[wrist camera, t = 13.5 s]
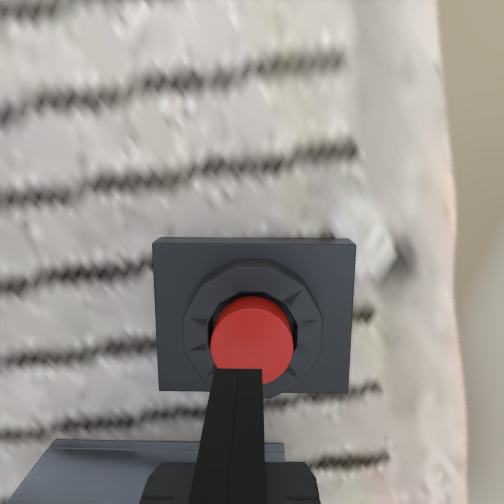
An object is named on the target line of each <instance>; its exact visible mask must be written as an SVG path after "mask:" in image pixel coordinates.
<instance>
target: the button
mask: <svg viewBox="0 0 504 504" xmlns="http://www.w3.org/2000/svg"><path fill="white" fill-rule="evenodd" d="M210 348H211V355H212V358H213V361H214V363H215V365H216V367H217V368H233V369H262V382H263V384H266V383H268V382H271V381H273V380H275V379H276V378H278V377H279V376H280V375H281V374H282V373H283V372H284V371H285V370H286V368H287V367H288V365H289V364H290V361H291V359H292V355H293V339H292V333H291V328H290V323H289V320H288V318H287V316H286V314H285V313H284V311H283V310H282V309H281V308H280V307H279V306H278V305H277V304H275V303H274V302H272V301H270V300H268V299H265V298H262V297H256V296H249V297H243V298H239V299H237V300H235V301H233V302H231V303H230V304H228V305H227V306H226V307H225V308H224V309H223V310H222V311H221V313H220V314H219V316H218V318H217V321H216V324H215V327H214V331H213V334H212V338H211V346H210Z"/></svg>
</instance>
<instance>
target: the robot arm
mask: <svg viewBox="0 0 504 504" xmlns="http://www.w3.org/2000/svg"><path fill="white" fill-rule="evenodd" d="M139 504H321V503H320V500H319V492H318V487H317V482H316V477H315V476H314V475H313V473H312V472H311V471H310V469H309V468H308V466H307V465H306V464H305V462H265V447H264V414H263V382H262V369H233V368H215V371H214V376H213V381H212V386H211V390H210V395H209V400H208V405H207V410H206V415H205V420H204V425H203V430H202V435H201V440H200V445H199V450H198V455H197V460H196V462H161V463H160V464H159V466H158V467H157V468H156V469H155V470H154V471H153V472H152V473H151V475H150V476H149V477H148V478H147V481H146V484H145V487H144V490H143V493H142V496H141V500H140V502H139Z"/></svg>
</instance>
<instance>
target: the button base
mask: <svg viewBox="0 0 504 504" xmlns="http://www.w3.org/2000/svg"><path fill="white" fill-rule="evenodd" d="M152 250H153V272H154V294H155V316H156V338H157V359H158V381H159V391H206V392H210V390H211V386H212V381H213V376H214V371H215V368H217V367H216V365H215V363H214V361H213V358H212V355H211V348H210V346H211V338H212V334H213V331H214V327H215V324H216V321H217V318H218V316H219V314H220V313H221V311H222V310H223V309H224V308H225V307H226V306H227V305H228V304H230V303H231V302H233V301H235V300H237V299H239V298H243V297H249V296H256V297H262V298H265V299H268V300H270V301H272V302H274V303H275V304H277V305H278V306H279V307H280V308H281V309H282V310H283V311H284V313H285V314H286V316H287V318H288V320H289V323H290V328H291V333H292V339H293V355H292V359H291V361H290V364H289V365H288V367H287V368H286V370H285V371H284V372H283V373H282V374H281V375H280V376H279V377H278V378H276V379H275V380H273V381H271V382H268V383H266V384H263V398H272V397H274V396H276V395H278V394H280V393H338V394H347V393H348V384H349V366H350V348H351V330H352V312H353V294H354V276H355V258H356V244H354V243H353V242H352V241H351V240H350V239H324V238H188V237H161V238H159V239H158V240H156V241H155V242H153V243H152Z"/></svg>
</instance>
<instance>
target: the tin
mask: <svg viewBox="0 0 504 504" xmlns="http://www.w3.org/2000/svg"><path fill="white" fill-rule="evenodd" d="M199 445H200V442H156V441H100V440H54V441H53V443H52V444H51V445H50V447H49V449H47V450H46V452H45V453H44V454H43V456H42V457H41V458H40V459H39V461H38V462H37V463H36V465H35V466H34V467H33V469H32V470H31V471H30V473H29V474H28V475H27V477H26V478H25V479H24V481H23V482H22V483H21V485H20V486H19V487H18V489H17V490H16V491H15V493H14V494H13V495H12V496H11V498H10V499H9V500H8V502H7V503H6V504H139V502H140V500H141V496H142V493H143V490H144V487H145V484H146V481H147V478H148V477H149V476H150V475H151V473H152V472H153V471H154V470H155V469H156V468H157V467H158V466H159V464H160V463H161V462H196V460H197V455H198V450H199ZM264 447H265V462H285V452H284V444H268V443H264Z"/></svg>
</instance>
